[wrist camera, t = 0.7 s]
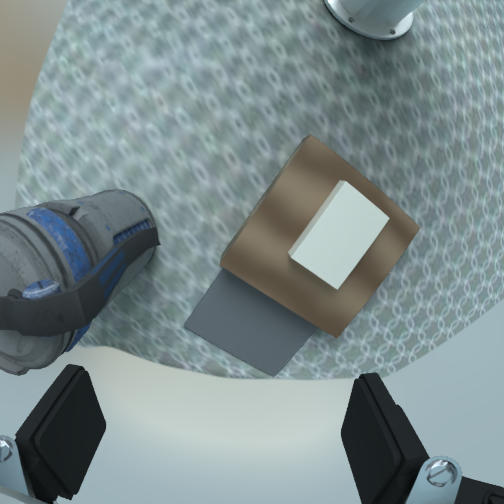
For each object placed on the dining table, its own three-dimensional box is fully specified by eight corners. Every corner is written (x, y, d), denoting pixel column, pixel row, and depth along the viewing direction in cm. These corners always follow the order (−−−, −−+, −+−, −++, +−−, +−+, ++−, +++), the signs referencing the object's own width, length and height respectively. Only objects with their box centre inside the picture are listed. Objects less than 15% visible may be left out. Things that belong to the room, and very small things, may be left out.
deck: (303, 138, 32) (311, 134, 29) (404, 221, 35) (420, 227, 31) (222, 254, 36) (219, 264, 32) (328, 323, 38) (336, 338, 34)
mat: (227, 262, 36) (227, 262, 35) (320, 321, 38) (321, 322, 38) (184, 325, 38) (183, 326, 37) (273, 375, 40) (274, 376, 40)
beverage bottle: (186, 266, 36) (102, 421, 12) (89, 275, 36) (-43, 387, 12) (174, 179, 33) (32, 202, 9) (74, 196, 33) (-93, 243, 9)
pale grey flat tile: (339, 180, 30) (345, 181, 28) (381, 215, 31) (389, 218, 29) (288, 252, 32) (290, 257, 30) (332, 282, 32) (337, 289, 31)
